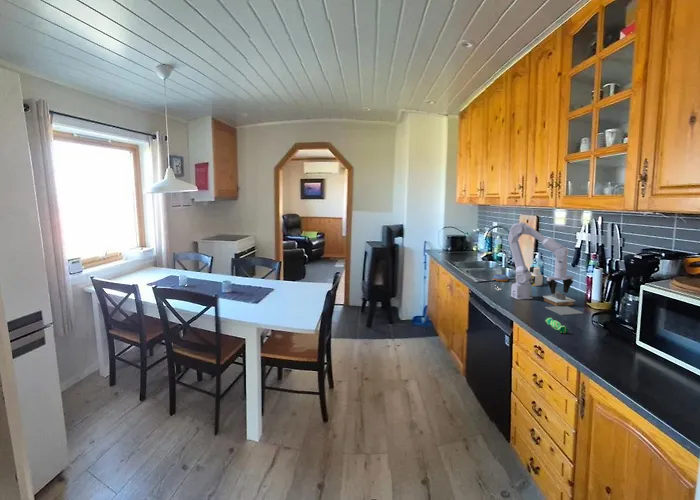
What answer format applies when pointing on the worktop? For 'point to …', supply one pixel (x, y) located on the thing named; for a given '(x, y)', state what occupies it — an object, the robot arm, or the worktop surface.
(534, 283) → the medicine bottle
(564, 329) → the candy
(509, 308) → the worktop surface
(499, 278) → the doughnut
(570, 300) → the lid
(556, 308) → the mat
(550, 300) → the box
